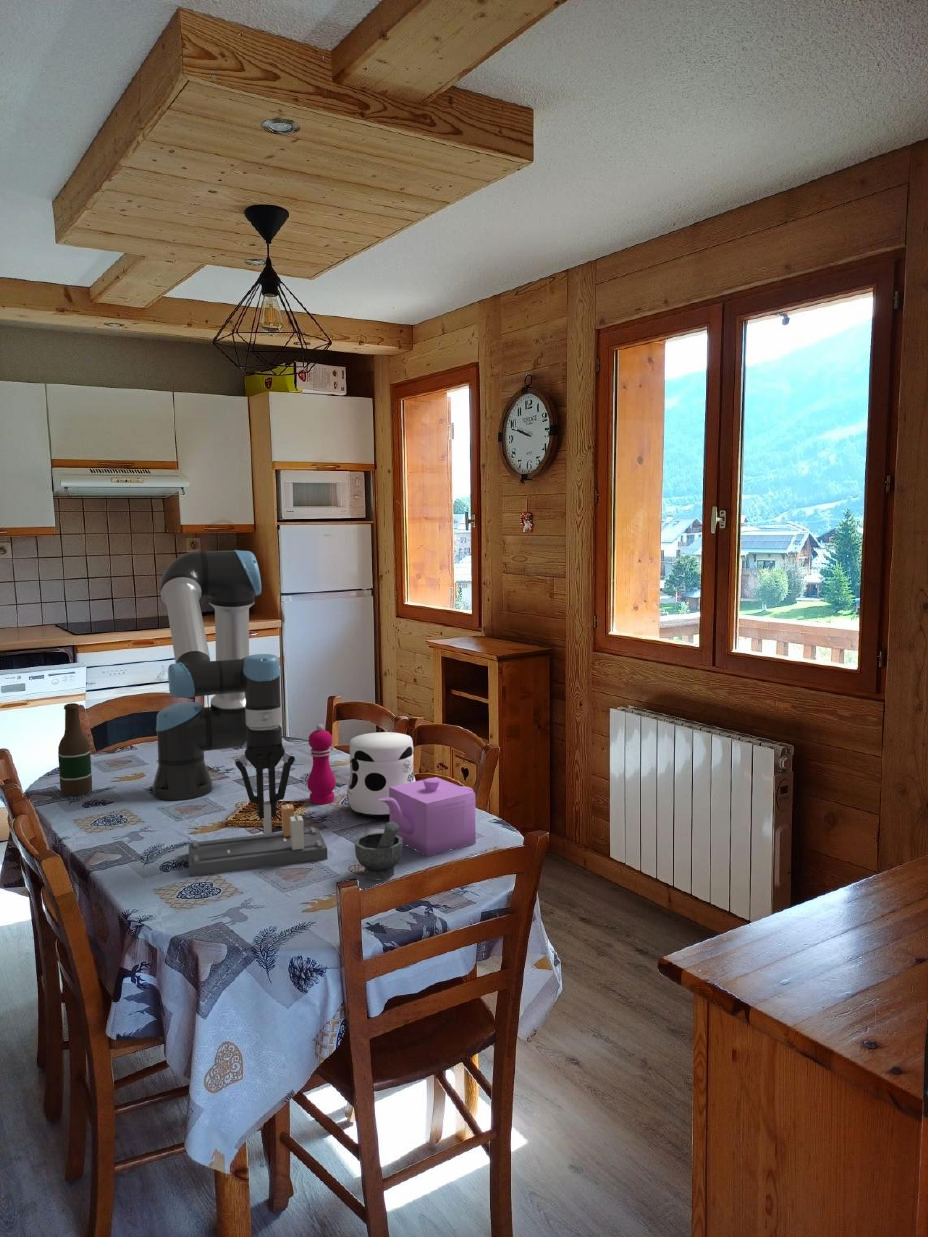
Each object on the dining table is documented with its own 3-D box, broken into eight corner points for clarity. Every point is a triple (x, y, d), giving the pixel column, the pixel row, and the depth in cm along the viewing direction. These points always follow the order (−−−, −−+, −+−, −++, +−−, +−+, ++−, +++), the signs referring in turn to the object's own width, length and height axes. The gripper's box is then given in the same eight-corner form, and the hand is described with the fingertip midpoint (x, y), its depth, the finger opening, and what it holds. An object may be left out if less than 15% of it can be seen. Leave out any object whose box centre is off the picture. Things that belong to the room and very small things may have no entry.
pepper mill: (330, 805, 224) (328, 728, 221) (303, 804, 225) (301, 727, 223) (340, 797, 231) (338, 721, 228) (313, 795, 232) (311, 720, 230)
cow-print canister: (432, 809, 220) (431, 738, 218) (379, 827, 207) (378, 752, 205) (385, 795, 232) (384, 727, 230) (333, 811, 219) (331, 740, 217)
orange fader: (282, 832, 197) (281, 804, 196) (293, 831, 198) (292, 803, 197) (283, 836, 194) (282, 808, 194) (294, 835, 195) (294, 807, 194)
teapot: (362, 844, 197) (360, 782, 196) (454, 821, 212) (453, 763, 210) (398, 865, 185) (397, 800, 183) (493, 839, 200) (492, 778, 198)
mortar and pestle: (347, 872, 181) (345, 815, 180) (385, 860, 187) (384, 805, 186) (376, 889, 173) (374, 830, 171) (416, 877, 178) (415, 819, 177)
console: (188, 853, 192) (188, 840, 192) (318, 838, 201) (317, 825, 200) (189, 876, 180) (189, 862, 180) (327, 858, 188) (327, 845, 188)
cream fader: (290, 845, 189) (289, 816, 189) (302, 843, 190) (301, 815, 189) (292, 850, 186) (291, 820, 186) (304, 848, 187) (303, 819, 186)
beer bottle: (54, 795, 235) (48, 706, 232) (76, 787, 242) (71, 700, 239) (76, 798, 232) (71, 708, 229) (98, 790, 239) (93, 702, 236)
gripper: (234, 732, 186) (238, 841, 189) (296, 727, 190) (300, 833, 193) (231, 725, 194) (235, 829, 196) (292, 720, 198) (295, 822, 200)
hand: (267, 831), depth 195 cm, fingers closed
